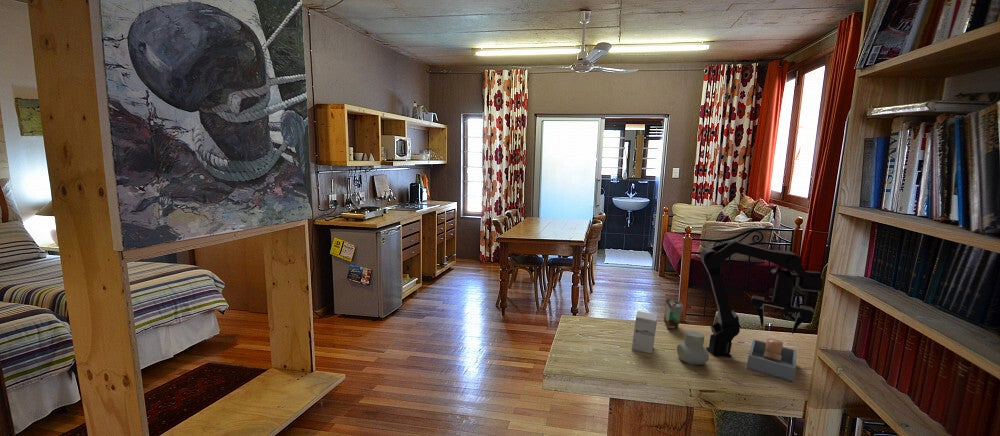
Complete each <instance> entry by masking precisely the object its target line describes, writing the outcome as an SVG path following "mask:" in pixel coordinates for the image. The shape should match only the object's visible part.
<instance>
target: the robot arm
mask: <svg viewBox="0 0 1000 436" xmlns="http://www.w3.org/2000/svg"><path fill="white" fill-rule="evenodd" d="M735 254H738V255H739V254H740V255H743V256H747V257H751V258H754V259H758V260H763V261H766V262H769V263H772V264H774V265H776V266H775V268H773V269H770V273H772V274H773V275H776V278H775V279H776V280H775V284H774V287H770V288H769V291H768V292H769V294H768V297H769V298H772V300H771V301H769V300H765V296H759V295H755V294H753V295H752V296H751V298H750V303H749V306H751V307H753V309H754V310H756V311H757V314H758V316H759V321H760V326H761V328H763V326H764V324H765V323H764V322H765V320H764V319H765V318H764V317H765V316H764V315H765V307H769V308H773V309H778V310H782V311H786V312H787V311H788V312H792V313H796V318H795V320H794V323H793V327H792V330H791V335H794V333H795V332H796V331H797V329H798V327H799V326H800V325H801V324H802V323H803V322H804V321H805V322H807V321H808V320H813V319H814V316H815V314H814V313H815V311H814V308H813V307H812V306H808V305H807V306H806V305H799V307H798V306H792V303H793V299H794V294H795V293H794V292H795V288H796V287H797V288H798V289H799V290H800V291H807V292H808V291H809V292H817V293H820V292H821V291H822V290H823V285H824V284H823V279H822V273H821V272H819V271H811V270H806V269H804V267H803V265H802V259H801V257H800V256H799V255H797V254H795V253H793V252H792V251H789V250H782V249H781V250H780V249H773V250H772V249H768V248H764V247H760V246H756V245H753V244H749V243H744V242H740V241H737V240H735V239H730V240H728V241H726V242H723V243H721V244H717V245H715V246H713V247H707V248H704V249H703V250H702V251H701V252H700V253H699V256H700V261H701V262H702V264H703V266H704V268H705V270H706V272H707V274H708V276H709V281H710V284H711V288H712V292H713V295H714V298H715V303H716V306H717V322H716V323H714V324H713V325H711V326H710V329H711V332H712V334H710V336H709V343H708V346H706V347H705V348H706V350H707V351H708V353H711V354H712V355H713V356H714V357H721V358H722V357H726V358H727V357H728V358H729V357H730V358H732V354H731V351H732V345H733V343H732V341H733V339H734V338H735V337H736V336H738V335H739V333H740V332H741V331H740V330H741V329H740V328H742V326H741V325H740V319H739V315H738V314H737V313H736V312H735V310H733V311H731V306H730V303H729V299H728V295H727V292H726V288H725V284H724V280H723V276H722V267H723V266H722V265H723V264H722V262H724V261H725V260H727V259H729V257H731V256H733V255H735ZM780 267H781V268H783V269H781V268H780ZM791 271H792V272H791ZM793 272H794V273H793Z"/></svg>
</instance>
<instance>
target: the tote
mask: <svg viewBox="0 0 1000 436" xmlns="http://www.w3.org/2000/svg"><path fill="white" fill-rule="evenodd" d="M765 347H766V341H762V340H758V339H755V338H752V342H751V346H750V349H749V354H748V358H747V363H746V370H748V371H752V372H756V373H757V374H758V373H759V374H762V375H766V376H769V377H773V378H776V379H779V380H783V381H786V382H789V383H794V381H795V376H796V370H797V349H793V348H789V347H785V346H783V347H782V352H781V355H782V357H781V363H778V362H774V361H770V360H767V359H763V358H764V352H765Z"/></svg>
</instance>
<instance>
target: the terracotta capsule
mask: <svg viewBox="0 0 1000 436" xmlns="http://www.w3.org/2000/svg"><path fill="white" fill-rule="evenodd" d="M765 342H766V347H765V351H768V352H771V353H775V354H779V355H781V352H782V347H784V342H783V341H781V340H779V339H775V338H772V337H771V338H769V337H768V338H767V339H766V341H765ZM764 353H765V352H764Z"/></svg>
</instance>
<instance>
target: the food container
mask: <svg viewBox="0 0 1000 436" xmlns="http://www.w3.org/2000/svg"><path fill="white" fill-rule="evenodd" d="M684 310H685V308H684V304H683V303H682V302H680V300H679V301H678V300H676V299H672V298H668V297H667V298H665V308H664V317H663V322H664V325H665V327H666V330H669V331H670V330H671V331H673V330H674V331H675V330H677V329H678V328H679V325H680V321H681V317H682V312H684Z"/></svg>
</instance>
